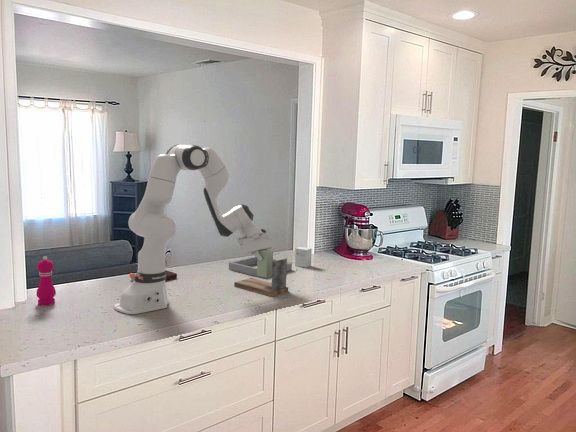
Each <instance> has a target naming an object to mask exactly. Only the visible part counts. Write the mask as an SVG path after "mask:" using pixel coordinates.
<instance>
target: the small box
mask: <svg viewBox="0 0 576 432" xmlns="http://www.w3.org/2000/svg"><path fill="white" fill-rule="evenodd" d="M294 251H295V252H294V266H295V267H301V268H306V269H307V268H309V267H311V266H312V248H311V247H304V246H303V247H302V246H298V247H295V249H294Z"/></svg>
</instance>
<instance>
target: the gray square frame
mask: <svg viewBox="0 0 576 432" xmlns="http://www.w3.org/2000/svg"><path fill="white" fill-rule="evenodd" d="M277 260H278V259H275V258H273V261H277ZM252 265H257V257H256V256H251V257H247V258H243V259H242V258H241V259H238V260H234V261H229V262H228V270H230V271H233V272H237V273H241V274H246V275H247V276H248V275H249V276H253V277H257V278H262V279H264V278H265V277H261V276H257V267H252ZM292 265H293V263H292V262H289V261H287V272H290V271H292V269H293V268H292V267H293V266H292ZM289 270H290V271H289Z"/></svg>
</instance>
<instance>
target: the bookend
mask: <svg viewBox="0 0 576 432" xmlns="http://www.w3.org/2000/svg"><path fill="white" fill-rule="evenodd" d="M276 260H277V261H273V262H272V276H271V282H269V281H266V280H261V279H257V278H254V277H249V278H245V279H240V280H238V281H234V284H233V287H235V288H238V289H239V288H240V289H242V288H243V290H247V291H251V292H254V293H257V294H262V295H264V296H269V297H275V296H278V295H281V294H285V293H287V292H289V287H288V286H287V272H288V271H287V262H288V258H282V259H276Z"/></svg>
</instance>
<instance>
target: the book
mask: <svg viewBox="0 0 576 432" xmlns="http://www.w3.org/2000/svg"><path fill="white" fill-rule="evenodd" d="M165 270H166V269H165ZM175 279H178V274H177V273H175V272H173V271H169V270H166V280H165V282H167V281H171V280H175ZM133 281H134V278H130V282H131V283H132V282H133Z"/></svg>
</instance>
